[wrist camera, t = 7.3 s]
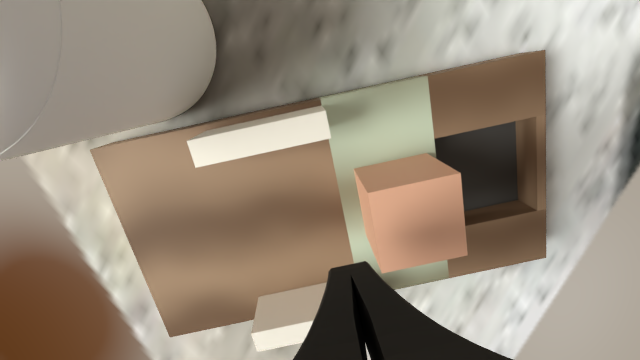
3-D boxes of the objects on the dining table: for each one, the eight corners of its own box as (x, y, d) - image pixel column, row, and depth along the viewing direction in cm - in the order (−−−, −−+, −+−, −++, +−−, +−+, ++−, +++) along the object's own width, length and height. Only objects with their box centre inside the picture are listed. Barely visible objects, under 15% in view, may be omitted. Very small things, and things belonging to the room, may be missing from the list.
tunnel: (359, 292, 20) (369, 328, 17) (263, 313, 20) (257, 351, 17) (321, 105, 17) (325, 110, 14) (206, 130, 17) (186, 140, 14)
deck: (524, 242, 22) (546, 257, 20) (181, 315, 22) (170, 337, 20) (519, 53, 18) (545, 50, 16) (111, 142, 19) (89, 150, 17)
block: (434, 219, 19) (467, 255, 15) (365, 234, 19) (382, 273, 15) (426, 153, 18) (460, 173, 14) (353, 168, 18) (367, 193, 14)
